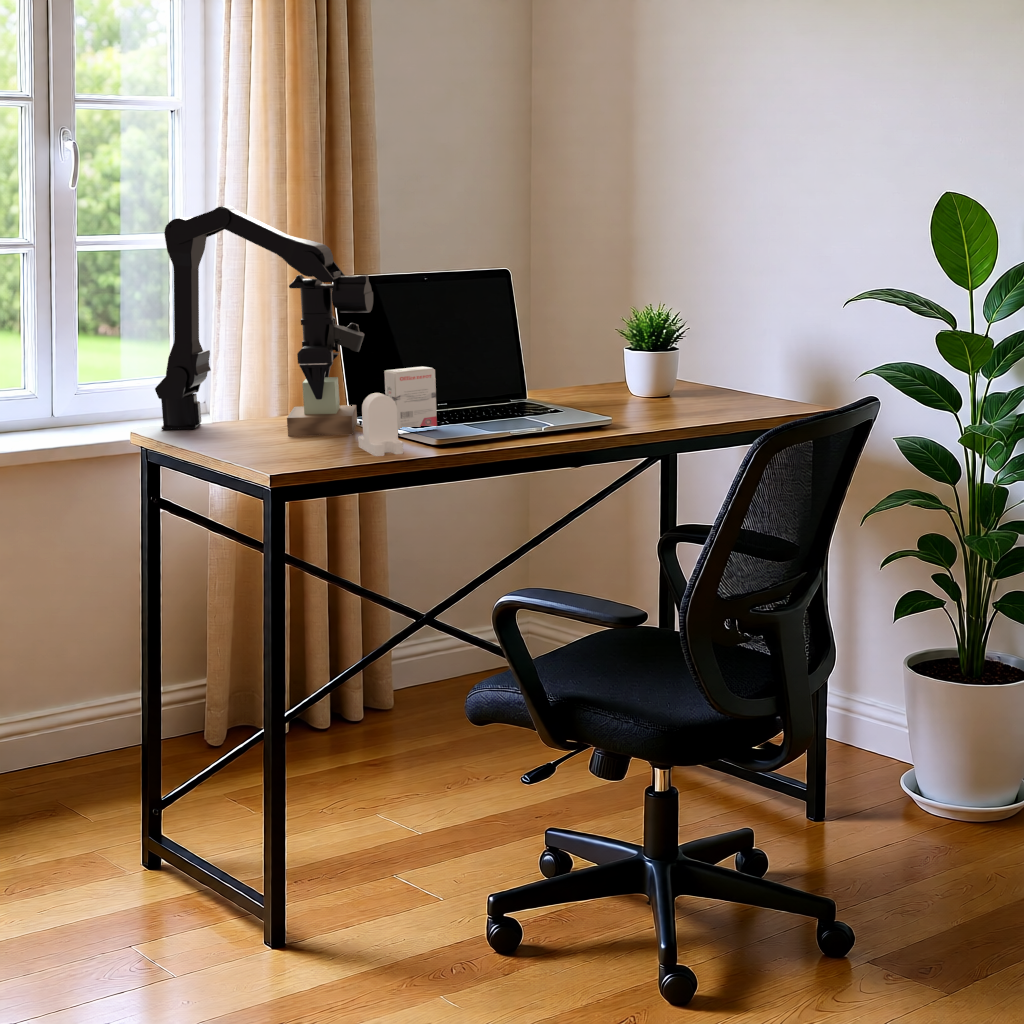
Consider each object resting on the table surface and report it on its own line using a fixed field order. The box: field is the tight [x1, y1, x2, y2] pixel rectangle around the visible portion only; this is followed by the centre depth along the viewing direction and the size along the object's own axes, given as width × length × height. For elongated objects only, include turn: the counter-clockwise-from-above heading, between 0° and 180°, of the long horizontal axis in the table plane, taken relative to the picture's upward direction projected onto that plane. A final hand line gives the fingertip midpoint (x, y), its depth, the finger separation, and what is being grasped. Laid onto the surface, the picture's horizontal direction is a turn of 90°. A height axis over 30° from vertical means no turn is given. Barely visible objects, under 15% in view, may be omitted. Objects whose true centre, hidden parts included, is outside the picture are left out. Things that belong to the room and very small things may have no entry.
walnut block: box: [286, 404, 358, 437], centre depth 264 cm, size 12×12×4 cm
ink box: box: [383, 365, 438, 429], centre depth 260 cm, size 9×5×12 cm, turn 121°
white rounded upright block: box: [357, 392, 404, 457], centre depth 243 cm, size 5×10×10 cm, turn 24°
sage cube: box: [301, 376, 340, 414], centre depth 263 cm, size 6×6×6 cm
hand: (321, 395), depth 263 cm, fingers open, 9 cm apart
